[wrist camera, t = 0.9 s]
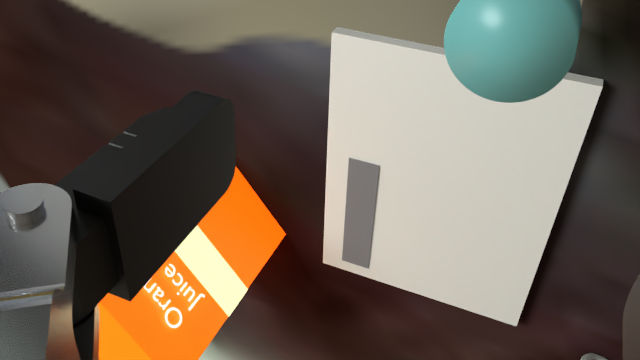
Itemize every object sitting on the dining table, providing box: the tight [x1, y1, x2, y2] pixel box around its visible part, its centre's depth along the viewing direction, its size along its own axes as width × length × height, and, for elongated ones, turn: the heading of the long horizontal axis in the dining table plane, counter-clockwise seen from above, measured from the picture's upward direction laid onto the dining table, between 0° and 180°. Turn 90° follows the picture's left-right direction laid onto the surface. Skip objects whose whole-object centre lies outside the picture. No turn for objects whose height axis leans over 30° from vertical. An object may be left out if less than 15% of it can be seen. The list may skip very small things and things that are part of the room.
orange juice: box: [98, 167, 286, 360], centre depth 38 cm, size 8×9×20 cm
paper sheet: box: [323, 27, 603, 326], centre depth 36 cm, size 14×18×1 cm
